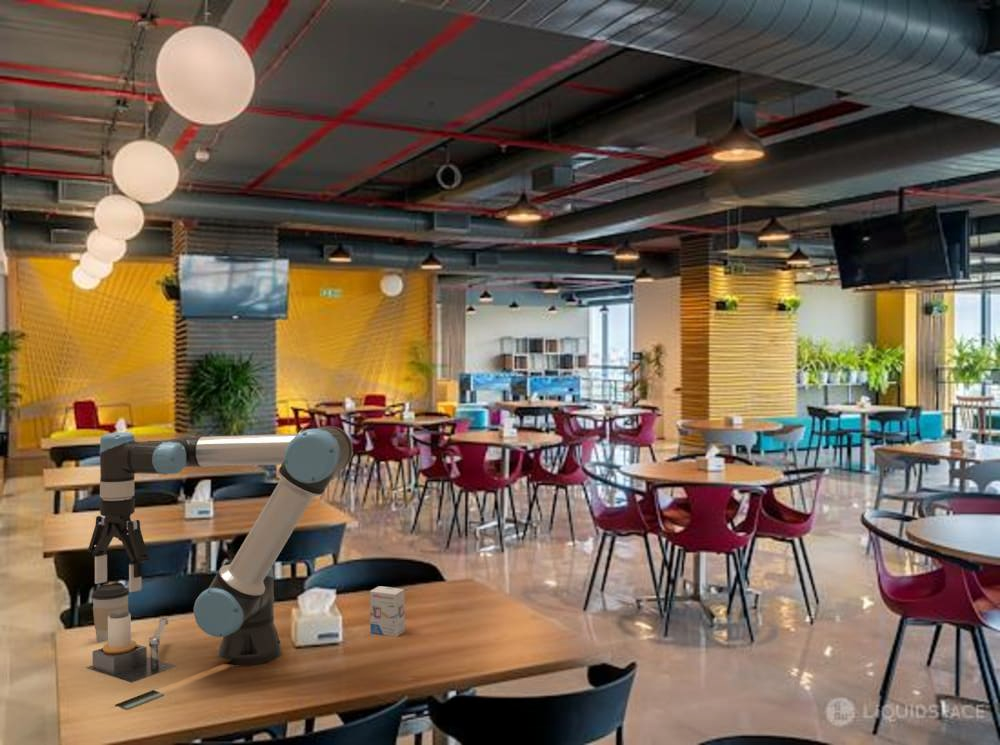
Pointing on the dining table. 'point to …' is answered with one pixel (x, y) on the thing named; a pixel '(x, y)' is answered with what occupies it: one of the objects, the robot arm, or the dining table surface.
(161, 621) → the grey metal lever
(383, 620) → the ink box
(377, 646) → the dining table surface
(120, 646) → the plug
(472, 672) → the dining table surface
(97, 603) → the coffee cup
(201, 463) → the robot arm
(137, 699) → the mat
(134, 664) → the grey open box fixture
